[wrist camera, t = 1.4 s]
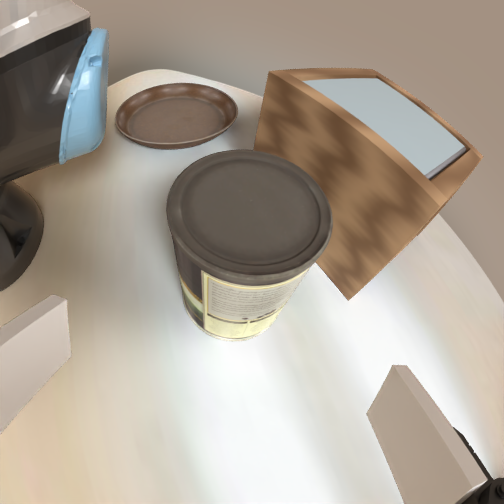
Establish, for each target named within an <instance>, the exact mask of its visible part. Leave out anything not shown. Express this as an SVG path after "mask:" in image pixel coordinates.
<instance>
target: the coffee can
mask: <svg viewBox="0 0 504 504" xmlns="http://www.w3.org/2000/svg"><path fill="white" fill-rule="evenodd" d="M166 211H167V219H168V224H169V228H170V231H171V234H172V238H173V243H174V249H175V255H176V260H177V266H178V271H179V276H180V281H181V287H182V292H183V301H184V305H185V308H186V311H187V313H188V315H189V317H190V318H191V320H192V321H193V322H194V324H195V325H196V326H197V327H198V328H200V329H201V330H202V331H203V332H205V333H206V334H208V335H210V336H212V337H215V338H217V339H221V340H226V341H243V340H248V339H251V338H253V337H256V336H258V335H260V334H261V333H263V332H264V331H266V330H267V329H268V328H269V327H270V326H271V325H272V323H273V322H274V321H275V319H276V318H277V316H278V314H279V312H280V311H281V309H282V308H283V307H284V305H285V304H286V302H287V301H288V299H289V298H290V297H291V295H292V293H293V292H294V291H295V289H296V288H297V286H298V285H299V283H300V282H301V280H302V279H303V277H304V276H305V274H306V273H307V271H308V270H309V268H310V267H311V266H312V265H313V263H315V262H316V261H317V259H318V258H319V257H320V256H321V255H322V253H323V252H324V250H325V249H326V247H327V245H328V243H329V241H330V238H331V234H332V228H333V216H332V210H331V207H330V204H329V202H328V199H327V197H326V195H325V193H324V192H323V190H322V189H321V188H320V186H319V185H318V184H317V182H316V181H315V180H314V179H313V178H312V177H311V176H310V175H309V174H308V173H307V172H305V171H304V170H303V169H301V168H300V167H298V166H297V165H295V164H294V163H292V162H290V161H288V160H286V159H283V158H281V157H278V156H276V155H273V154H269V153H266V152H261V151H255V150H230V151H223V152H218V153H214V154H210V155H208V156H205V157H203V158H201V159H199V160H197V161H196V162H194V163H192V164H191V165H190V166H188V167H187V168H186V169H185V170H183V172H182V173H181V174H180V175H179V176H178V177H177V179H176V180H175V181H174V183H173V185H172V187H171V189H170V192H169V195H168V199H167V209H166Z"/></svg>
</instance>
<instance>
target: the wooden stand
mask: <svg viewBox="0 0 504 504" xmlns="http://www.w3.org/2000/svg"><path fill="white" fill-rule="evenodd" d="M347 78H377V79H379V80H381V81H382V82H384V83H385V84H387V85H388V86H390V87H391V88H393V89H394V90H396V91H397V92H399V93H400V94H401V95H403V96H404V97H406V98H407V99H408V100H410V101H411V102H413V103H414V104H415V105H417V106H418V107H419V108H421V109H422V110H423V111H424V112H426V113H427V114H428V115H429V116H431V117H432V118H433V119H434V120H436V121H437V122H438V123H439V124H440V125H441V126H443V127H444V128H445V129H446V130H447V131H448V132H450V133H451V134H452V135H453V136H454V137H455V138H456V139H457V140H458V141H459V142H460V143H462V144H463V145H464V146H465V148H466V152H465V153H464V154H463V155H462V156H460V157H459V158H458V159H457V160H456V161H454V162H453V163H452V164H451V165H449V166H448V167H447V168H446V169H444V170H443V171H442V172H441V173H439V174H438V175H437V176H436V177H434V178H433V179H432V180H431V181H430V180H429V179H428V178H427V177H426V176H425V175H424V174H422V173H421V172H420V171H419V170H418V169H417V168H416V167H415V166H414V165H413V164H412V163H411V162H410V161H409V160H408V159H406V158H405V157H404V156H403V155H402V154H401V153H400V152H399V151H397V150H396V149H395V148H394V147H393V146H392V145H390V144H389V143H388V142H387V141H386V140H384V139H383V138H382V137H381V136H380V135H378V134H377V133H376V132H375V131H373V130H372V129H371V128H369V127H368V126H367V125H366V124H364V123H363V122H362V121H360V120H359V119H358V118H356V117H355V116H354V115H352V114H351V113H349V112H348V111H347V110H345V109H344V108H342V107H341V106H340V105H338V104H337V103H335V102H334V101H332V100H331V99H329V98H328V97H326V96H325V95H323V94H322V93H320V92H319V91H317V90H315V89H314V88H312V87H311V86H309V85H307V84H306V83H304V82H302V81H309V80H323V79H347ZM253 150H255V151H261V152H266V153H269V154H273V155H276V156H278V157H281V158H283V159H286V160H288V161H290V162H292V163H294V164H295V165H297V166H298V167H300V168H301V169H303V170H304V171H305V172H307V173H308V174H309V175H310V176H311V177H312V178H313V179H314V180H315V181H316V182H317V184H318V185H319V186H320V188H321V189H322V190H323V192H324V193H325V195H326V197H327V199H328V202H329V204H330V207H331V210H332V216H333V228H332V234H331V238H330V241H329V243H328V245H327V247H326V249H325V250H324V252H323V253H322V255H321V256H320V257H319V258H318V259H317V261H316V263H317V264H318V265H319V266H320V268H321V269H322V270H323V271H324V272H325V273H326V275H327V276H328V277H329V278H330V279H331V281H332V282H333V283H334V284H335V285H336V286H337V288H338V289H339V290H340V291H341V292H342V294H343V295H344V296H345V297H346V298H347V300H348V301H349V300H350V299H351V298H352V297H353V296H354V295H355V294H357V293H358V292H359V291H360V290H361V289H362V288H363V287H364V286H365V285H366V284H367V283H368V282H370V281H371V280H372V279H373V278H374V277H375V276H376V275H377V274H378V273H379V272H380V271H381V270H382V269H383V268H384V267H385V266H386V265H387V264H388V263H389V262H390V261H391V260H392V259H393V258H394V257H396V256H397V255H398V254H399V253H400V252H401V251H402V250H403V249H404V248H405V247H406V246H407V245H408V244H409V243H410V242H411V241H412V240H413V239H414V238H415V237H416V236H418V235H419V234H420V233H421V231H422V230H423V229H424V228H425V227H426V226H427V225H428V224H429V223H430V222H431V221H432V219H433V218H434V217H435V216H436V215H437V214H438V213H439V211H440V210H441V209H442V208H443V207H444V206H445V204H446V203H447V202H448V201H449V200H450V198H451V197H452V196H453V195H454V194H455V193H456V191H457V190H458V189H459V188H460V186H461V185H462V184H463V183H464V181H465V180H466V179H467V178H468V176H469V175H470V174H471V173H472V171H473V170H474V169H475V167H476V166H477V165H478V163H479V162H480V161H481V159H482V158H483V156H482V155H481V154H480V153H479V152H478V151H477V150H476V149H475V148H474V147H473V146H472V145H471V144H470V143H469V142H468V141H467V140H466V139H465V138H464V137H463V136H462V135H461V134H459V133H458V132H457V131H456V130H455V129H454V128H453V127H451V126H450V125H449V124H448V123H447V122H446V121H445V120H443V119H442V118H441V117H440V116H439V115H437V114H436V113H435V112H434V111H432V110H431V109H430V108H429V107H427V106H426V105H425V104H423V103H422V102H421V101H419V100H418V99H417V98H415V97H414V96H412V95H411V94H410V93H408V92H407V91H405V90H404V89H403V88H401V87H400V86H398V85H397V84H395V83H394V82H392V81H390V80H389V79H388V78H386V77H384V76H383V75H381V74H380V73H378V72H376V71H375V70H372V69H356V68H309V69H290V70H277V71H269V73H268V78H267V83H266V88H265V93H264V98H263V103H262V108H261V113H260V118H259V123H258V128H257V133H256V138H255V144H254V149H253Z"/></svg>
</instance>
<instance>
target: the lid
mask: <svg viewBox="0 0 504 504" xmlns="http://www.w3.org/2000/svg"><path fill="white" fill-rule="evenodd" d="M302 82H304V83H306V84H307V85H309V86H311V87H312V88H314V89H315V90H317V91H319V92H320V93H322V94H323V95H325V96H326V97H328V98H329V99H331V100H332V101H334V102H335V103H337V104H338V105H340V106H341V107H342V108H344V109H345V110H347V111H348V112H349V113H351V114H352V115H354V116H355V117H356V118H358V119H359V120H360V121H362V122H363V123H364V124H366V125H367V126H368V127H369V128H371V129H372V130H373V131H375V132H376V133H377V134H378V135H380V136H381V137H382V138H383V139H384V140H386V141H387V142H388V143H389V144H390V145H392V146H393V147H394V148H395V149H396V150H397V151H399V152H400V153H401V154H402V155H403V156H404V157H405V158H406V159H408V160H409V161H410V162H411V163H412V164H413V165H414V166H415V167H416V168H417V169H418V170H419V171H420V172H421V173H422V174H424V175H425V176H426V177H427V178H428V179H429V180H430V181H431V180H432V179H433V178H434V177H436V176H437V175H438V174H439V173H441V172H442V171H443V170H444V169H446V168H447V167H448V166H449V165H451V164H452V163H453V162H454V161H456V160H457V159H458V158H459V157H460V156H462V155H463V154H464V153H465V152H466V148H465V146H464V145H463V144H462V143H460V142H459V141H458V140H457V139H456V138H455V137H454V136H453V135H452V134H451V133H450V132H448V131H447V130H446V129H445V128H444V127H443V126H441V125H440V124H439V123H438V122H437V121H436V120H434V119H433V118H432V117H431V116H429V115H428V114H427V113H426V112H424V111H423V110H422V109H421V108H419V107H418V106H417V105H415V104H414V103H413V102H411V101H410V100H408V99H407V98H406V97H404V96H403V95H401V94H400V93H399V92H397V91H396V90H394V89H393V88H391V87H390V86H388V85H387V84H385V83H384V82H382V81H381V80H379V79H377V78H347V79H323V80H309V81H302Z"/></svg>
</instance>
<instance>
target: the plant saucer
mask: <svg viewBox="0 0 504 504" xmlns="http://www.w3.org/2000/svg"><path fill="white" fill-rule="evenodd" d="M237 114H238V108H237V105H236V103H235V101H234V100H233V99H232V98H231V97H230V96H229V95H227V94H226V93H224V92H223V91H221V90H218V89H216V88H213V87H210V86H206V85H201V84H194V83H173V84H164V85H159V86H155V87H152V88H148V89H146V90H143V91H141V92H139V93H137V94H135V95H133V96H131V97H130V98H129V99H127V100H126V101H125V102H124V103H123V104H122V105H121V106H120V107H119V109H118V111H117V113H116V116H115V122H116V125H117V127H118V129H119V130H120V131H121V132H122V133H123V134H124V135H125V136H126V137H128V138H129V139H131V140H133V141H134V142H136V143H139V144H141V145H144V146H148V147H152V148H158V149H182V148H188V147H193V146H196V145H200V144H203V143H205V142H208V141H210V140H212V139H214V138H216V137H217V136H219V135H220V134H222V133H223V132H224V131H226V130H227V129H228V128H229V127H230V126H231V125H232V123H233V122H234V121H235V119H236V118H237Z"/></svg>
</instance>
